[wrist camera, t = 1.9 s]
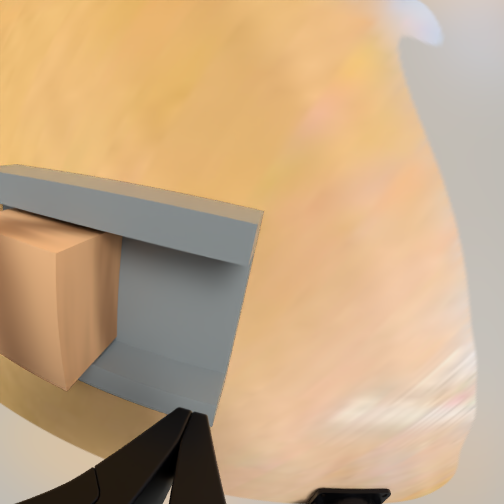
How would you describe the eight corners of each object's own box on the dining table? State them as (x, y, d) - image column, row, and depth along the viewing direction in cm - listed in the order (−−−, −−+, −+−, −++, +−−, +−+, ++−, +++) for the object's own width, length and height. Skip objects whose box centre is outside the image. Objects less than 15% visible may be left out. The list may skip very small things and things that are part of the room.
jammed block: (123, 225, 14) (55, 253, 9) (116, 336, 15) (66, 391, 10) (33, 203, 14) (-36, 220, 9) (34, 303, 15) (-21, 339, 10)
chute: (263, 211, 14) (258, 224, 10) (224, 383, 16) (211, 427, 13) (17, 164, 14) (-25, 168, 11) (17, 307, 17) (-16, 327, 14)
